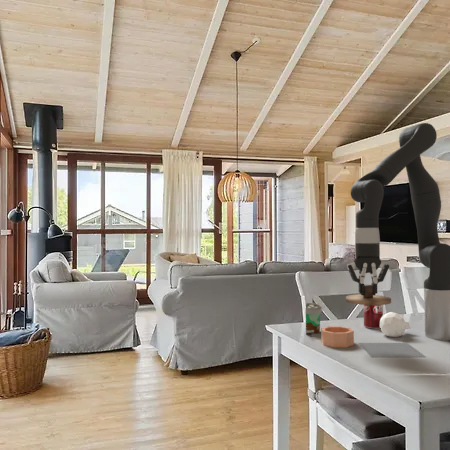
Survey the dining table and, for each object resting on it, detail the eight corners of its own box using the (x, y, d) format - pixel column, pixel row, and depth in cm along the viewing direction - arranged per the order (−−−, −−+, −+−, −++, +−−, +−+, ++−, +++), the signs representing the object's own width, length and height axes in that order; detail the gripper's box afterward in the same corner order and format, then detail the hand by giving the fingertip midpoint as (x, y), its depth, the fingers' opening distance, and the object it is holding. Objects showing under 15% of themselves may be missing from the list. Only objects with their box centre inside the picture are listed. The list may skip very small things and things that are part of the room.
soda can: (385, 326, 172) (384, 295, 172) (381, 330, 166) (380, 298, 166) (366, 324, 176) (365, 294, 176) (361, 328, 170) (361, 297, 170)
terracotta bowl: (349, 340, 152) (348, 326, 152) (356, 348, 142) (355, 333, 142) (320, 340, 152) (319, 326, 152) (324, 348, 142) (324, 333, 142)
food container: (323, 336, 159) (322, 308, 159) (306, 335, 160) (305, 308, 160) (322, 328, 171) (321, 302, 171) (306, 327, 172) (306, 302, 172)
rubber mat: (406, 344, 146) (406, 342, 146) (426, 358, 130) (426, 356, 130) (358, 344, 147) (358, 342, 147) (371, 358, 131) (371, 357, 131)
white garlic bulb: (395, 336, 148) (419, 336, 154) (390, 309, 151) (414, 310, 157) (376, 339, 156) (400, 339, 161) (372, 313, 159) (395, 314, 164)
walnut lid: (382, 297, 148) (382, 282, 148) (397, 305, 134) (397, 288, 134) (341, 297, 148) (341, 282, 148) (351, 305, 134) (351, 288, 134)
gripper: (385, 241, 145) (386, 293, 145) (342, 241, 145) (343, 293, 145) (393, 242, 137) (393, 296, 137) (348, 242, 138) (348, 296, 138)
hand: (367, 294), depth 141 cm, fingers closed on walnut lid, 3 cm apart
